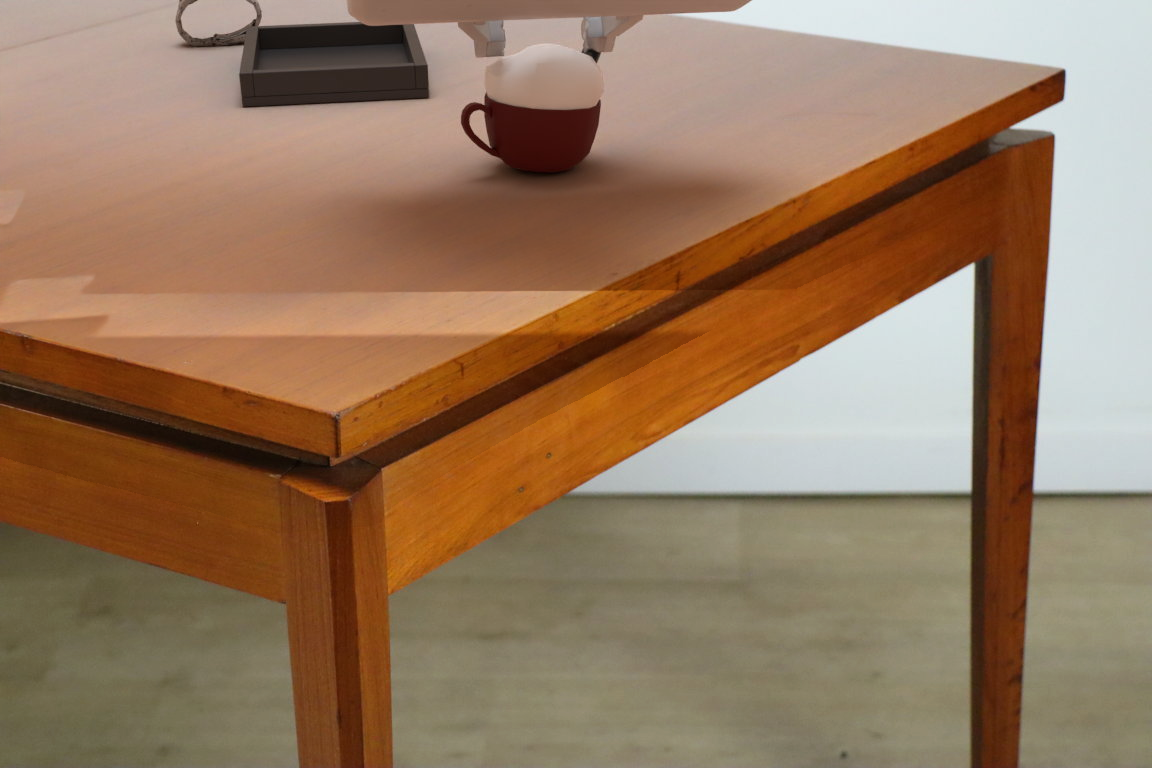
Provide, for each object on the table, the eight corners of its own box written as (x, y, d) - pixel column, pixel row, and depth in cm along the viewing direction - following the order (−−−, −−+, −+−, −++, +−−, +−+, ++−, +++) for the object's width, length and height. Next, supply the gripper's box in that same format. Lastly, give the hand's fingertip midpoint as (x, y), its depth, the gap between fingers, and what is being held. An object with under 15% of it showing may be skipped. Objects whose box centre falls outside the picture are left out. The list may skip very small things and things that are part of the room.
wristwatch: (179, 40, 112) (171, -29, 110) (264, 36, 113) (258, -32, 111) (176, 50, 109) (168, -21, 107) (263, 47, 110) (257, -24, 108)
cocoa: (460, 180, 79) (459, -59, 74) (464, 149, 84) (463, -75, 79) (642, 183, 79) (653, -55, 74) (634, 152, 85) (643, -71, 80)
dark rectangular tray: (242, 107, 94) (238, 73, 93) (250, 56, 107) (247, 26, 106) (429, 97, 96) (427, 64, 95) (414, 48, 109) (412, 19, 108)
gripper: (787, -194, 69) (724, -15, 82) (335, -186, 66) (343, -1, 79) (811, -79, 67) (743, 87, 80) (345, -65, 64) (352, 105, 77)
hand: (541, 43), depth 79 cm, fingers closed on cocoa, 4 cm apart
